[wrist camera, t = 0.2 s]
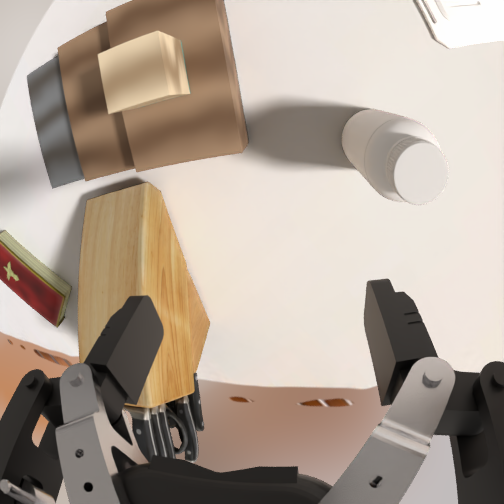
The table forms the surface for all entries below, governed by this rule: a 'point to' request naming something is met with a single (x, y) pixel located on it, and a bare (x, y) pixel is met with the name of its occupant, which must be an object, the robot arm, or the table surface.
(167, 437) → the knife block
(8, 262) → the hardcover book
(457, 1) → the tray
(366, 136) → the pill bottle
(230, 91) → the walnut staircase
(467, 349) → the table surface
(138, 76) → the maple cube
